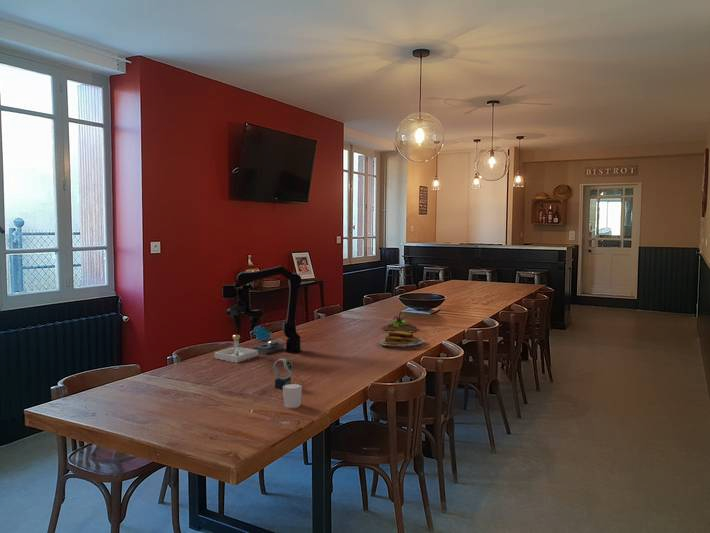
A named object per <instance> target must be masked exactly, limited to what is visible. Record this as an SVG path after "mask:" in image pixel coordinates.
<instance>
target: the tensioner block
mask: <svg viewBox="0 0 710 533" xmlns="http://www.w3.org/2000/svg"><path fill="white" fill-rule="evenodd" d="M284 348H285V346H284V343H283V342H280V340H277V339H269V340H268V341H267V340H266V342H265V343H261V344H258V345H254V346H253V348H252V349H253V350H258V354H259V353H261V354H260V355H265V354H266V355H269V354H271V353H275V352H279V351H281V350H284ZM268 353H269V354H268Z"/></svg>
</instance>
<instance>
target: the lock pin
mask: <svg viewBox="0 0 710 533" xmlns="http://www.w3.org/2000/svg"><path fill="white" fill-rule="evenodd" d="M240 339H241V335H240V334H232V340H233V347H234V356H239V347H240Z"/></svg>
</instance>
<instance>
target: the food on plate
mask: <svg viewBox="0 0 710 533" xmlns="http://www.w3.org/2000/svg"><path fill="white" fill-rule="evenodd" d="M383 342H386V343H385V344H383ZM425 342H426V341H425V339H423V338H420V337H417V336H416V337H415V336H414V334H413V332H406V331H391V332H388V335H386V336H385V338H384V339H379V340H378V342H377V343H378V344H379V345H381V346H383V348H384V349H385V348H386V347H392V348H408V347H414V346H419V345H422V344H423V343H425Z"/></svg>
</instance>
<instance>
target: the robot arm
mask: <svg viewBox="0 0 710 533" xmlns="http://www.w3.org/2000/svg"><path fill="white" fill-rule="evenodd" d="M278 275H281V276H283V277H284V278H286V279H287V282H288V289H289V294H288V302H287V303H288V304H287V311H286V312H287V313H286V319H285V321H282V327H281V330H282V331H283V334H284V336H286V338H287V339H286V342H285V347H286V348H285V350H284V353H289V354H290V353H291V354H297V353H299V352H302V351H303V349H301V336H300V335H299V333H298V332H297V326H296V310H297V301H298V292H299V290H300V286H301V283H302V277H301V275H300V274H298V273H297V272H291V271H290V270H288V269H287V268H285V267H284V266H282V265H278V266H275V267H271V268H265V269H260V270H257V271H241V272H239V273H238V274H237V275H236V277H237V278H236V280H235V282H234V283H233V284H222V292H221V293H222V294H221V295H222V300H230V299H231V300H234V299H235V298H236V297H237V300H235V301H236V302H235V304H234V305H232V306H231V307H229V308H227V310H226V315H228V317H231V319H232V320H233V323H234V325H235V327H236V329H237V330H238V329H240V327H241V316H242V315H248V316H249V317H248V319H249V320H250V329H251V331H254V329H255V328H256V324H257V323H258V320H259V319H260V318H261V316H263V315H264V311H263V309H253V307H251V303H252V302H253V299H251V289H255V288H254V286H253V285H252V284H251V283H253V282H254V281H257V280H260V279H261V280H262V279H266V278H268V277H269V278H270V277H272V276H278ZM247 284H248V285H247Z"/></svg>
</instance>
